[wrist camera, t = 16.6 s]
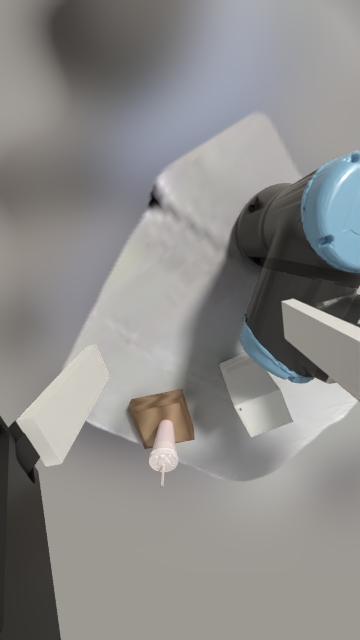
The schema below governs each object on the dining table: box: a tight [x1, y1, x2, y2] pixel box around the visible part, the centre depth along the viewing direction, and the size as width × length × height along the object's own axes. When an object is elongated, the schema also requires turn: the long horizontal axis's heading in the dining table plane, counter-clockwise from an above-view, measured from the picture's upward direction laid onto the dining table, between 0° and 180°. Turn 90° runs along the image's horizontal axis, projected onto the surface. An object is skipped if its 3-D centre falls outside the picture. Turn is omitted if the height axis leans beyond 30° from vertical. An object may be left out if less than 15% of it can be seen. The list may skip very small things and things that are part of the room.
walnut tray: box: [128, 389, 195, 449], centre depth 55 cm, size 14×14×4 cm
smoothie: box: [149, 420, 178, 487], centre depth 46 cm, size 6×6×14 cm
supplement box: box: [219, 352, 293, 437], centre depth 45 cm, size 9×9×15 cm
